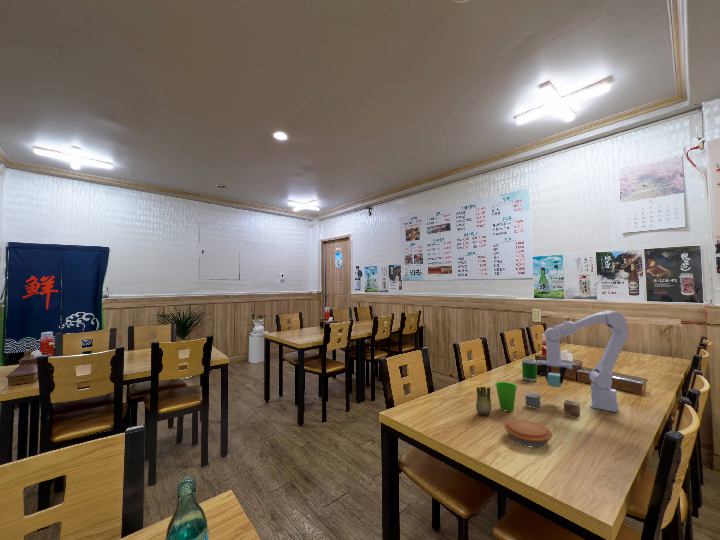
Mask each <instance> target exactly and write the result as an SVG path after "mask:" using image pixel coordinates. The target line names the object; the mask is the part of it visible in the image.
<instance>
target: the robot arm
mask: <svg viewBox="0 0 720 540" xmlns="http://www.w3.org/2000/svg"><path fill="white" fill-rule="evenodd" d="M627 321H628V320H627V319H626V318H625V315H623V314H622V313H621V312H619V311H613V310H610V309H609V310H608V309H607V310H604V311H599V312H595V313H594V314H591V315H589V316H586V317H583V318H582V319H579V320H576V321H574V322H573V321H571V320H568V321H567V320H564V321H563V323H561V324H558V325H553V327H547V328H546V329H545V330H544V333H543V335H544V336H545V338H546V339H545V340H546V341H545V348H546V360H542V359H541V360H540V359H537V360H535V361H536V366H540V368H541V370H542V371H543V374H544V375H545V380H546V381H547V374H548V373H550V370H549V368H550V367H555V368H559V374H560V384H562V385H563V383H564V377H565V375H566V372H567V370H568V369H569V370H573V364H571V363H565V362H561V361H562V359H561V358H562V357H561V343H560V340H561V339H562V338H564V337H567V336H570V335H573V334H575V333H577V331H578V329H581V328H585V327H588V326H591V325H594V324H602V325H603V324H604V325H605V326H607V327H608V328H609V330H610V331H611V335H610V338H609V340H608V342H607V344H606V346H605V350H604V351H603V353H602V355H601V358H600V361H599V362H598V364H596V365H595V366H594V368H593V369H592V370H591V371H590V372H589V374H588V378H589V380H590V381H591V384H590V395H591V396H590V397H591V398H590V399H591V402H590V405H589V407H590V408H593V409H599V410H603V411H609V412H615V413H618V407H619V402H618V392H617V389H615V388H612V386H613V377H614V376H613V375H614V374H613V373H614V372H613V369H614V367H615V365H616V362H617V361H618V359H619V356H620V353H621V352H622V349H623V347H624V346H625V344H626V341H627V338H628V336H629V329H628V324H627Z"/></svg>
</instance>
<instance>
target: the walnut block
mask: <svg viewBox="0 0 720 540" xmlns="http://www.w3.org/2000/svg"><path fill="white" fill-rule="evenodd" d="M580 406H581V405H580V402H578V401H572V400H567V399H565V400H564V402H563V415H564V414H566V415H565V416H567V415H570V416H569V417H572V416H575V417H574V418H576V417H579V418H580V414H581V407H580Z"/></svg>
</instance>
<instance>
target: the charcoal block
mask: <svg viewBox="0 0 720 540" xmlns="http://www.w3.org/2000/svg"><path fill="white" fill-rule="evenodd" d="M524 396H525V406H526V405H527V406H531V407H535V408H539V409H540V407H541V406H540V405H541V395H540V394H536V393H532V392H528V393H526V394H525V395H524ZM539 406H540V407H539ZM531 407H530V408H531ZM535 408H534V409H535Z"/></svg>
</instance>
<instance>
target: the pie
mask: <svg viewBox="0 0 720 540" xmlns="http://www.w3.org/2000/svg"><path fill="white" fill-rule="evenodd" d="M503 428H504V429H505V431H506V433H508V435H509V437H510V438H512V439H513V440H514V441H513V442H515V441H516V442H518V443H520V444H519V445H521V444H522V445H521V446H524V445H526V446H525V447H528V446H532V447H531V448H542V447H541V446H543V447H545V446H546V445H547V443H548V442H549V441H550V440H551V439H552V437H553V432H552V431H551V430H550V429H549V428H548V427H546V426H544V425H542V424H540V423H538V422H535V421H531V420H526V419H515V420H514V419H513V420H510V421H507V422H505V423H504V425H503ZM512 439H511V440H512ZM516 442H515V443H516ZM518 443H517V444H518ZM545 444H546V445H545ZM544 445H545V446H544Z"/></svg>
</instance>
